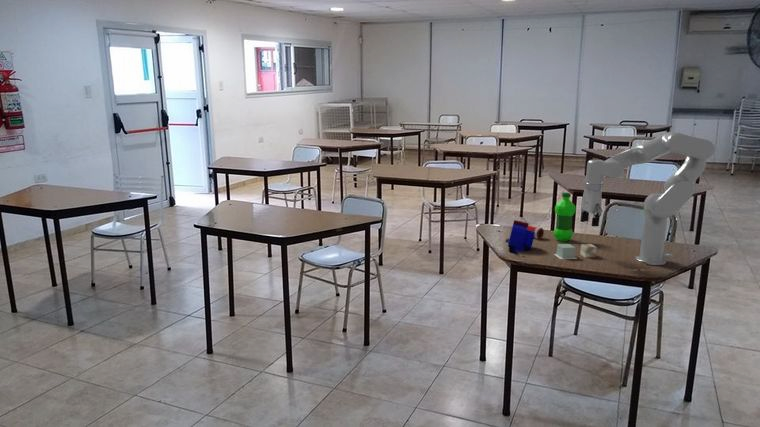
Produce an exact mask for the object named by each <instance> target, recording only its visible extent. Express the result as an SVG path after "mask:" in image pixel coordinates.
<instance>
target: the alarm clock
mask: <svg viewBox="0 0 760 427" xmlns="http://www.w3.org/2000/svg"><path fill="white" fill-rule="evenodd" d="M528 226H529V222H524V221H521V220H520V221H519V220H516V219H513V224H512V227H511V231H510V235H509V238H508V239H509V242H507V244H508V245H507V247H508V253H509V252H510V253H509V254H518V252H519V251H520V252H529V250H531V249H532V246H533V242H534V238H535V237H534V235H535V232H534V231H530V230H527V227H528Z"/></svg>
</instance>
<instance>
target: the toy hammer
mask: <svg viewBox="0 0 760 427" xmlns="http://www.w3.org/2000/svg"><path fill="white" fill-rule="evenodd" d="M527 230H530V231H534V232H535V235H534V238H535V239H536V240H540V239H541V240H542V238H543V237H544V234H545V230H544V228H543V227H539V226H538V227H537V226H532V225H528V227H527ZM509 239H510V238H506V239H505V242H506V243H509Z"/></svg>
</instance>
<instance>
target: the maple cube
mask: <svg viewBox="0 0 760 427" xmlns="http://www.w3.org/2000/svg"><path fill="white" fill-rule="evenodd" d="M579 254H580V256H582V257H584V258H596V256H597V255H596V254H597V246H595V245H594V244H591V243H588V244H587V243H585V244H583V243H582V244H580V252H579Z"/></svg>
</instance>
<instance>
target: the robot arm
mask: <svg viewBox="0 0 760 427" xmlns="http://www.w3.org/2000/svg"><path fill="white" fill-rule="evenodd" d="M715 152H716V146H715V144H714V143H713V141H710V140H709V139H704V138H700V137H696V136H692V135H688V134H685V133H681V132H676V131H667V132H665V133H663V134H661V135H659V136H657V137H655V138H652V139H651V140H649V141H645V142H644V143H641V144H640V145H637V146H635V147H632V148H629V149H626V150H624V151H622V152H619V153H617V154H615V155H612V157H609V158H607V159H606V160H601V159H590V160H588V161H587V164H586V173H585V174H586V176H585V182H584V183H585V184H584V185H585V186H584V191H583V194H582V198H581V199H582V200H581V206H580V208H581V209H582V210H581V222H589V219H590V218H589V216H590V214H591V213H592V219H591V227H599V226H600V220H601V219H600V218H601V216H602V213H603V209H602V200H603V199H602V192H603V186H604V177H606V178H611V179H617V178H620V177H621V176H623V174H624V173H625V169H627V168H629V167H632V166H634V165H635V166H636V165H642V164H644V165H645V164H648V163H651V162H653V161H654V160H657V159H659V158H660V157H663V156H666V155H667V154H669V153H674V154H678V155H681V156H684V157H685V160H684V162H683V163H682V165H680V167H679V168H678V169H677V170H676V171H675V172H674V173H673V174H672V175H671V176H670V177H669V178H668V179H667V180H665V182H664V183H663V189H664V190H663V191H664V193H659V192H655V193H651V194H649V195H648V196H647V197H646V198H645V199H644V201H643V202H644V203H643V224H642V232H641V241H640V249H639V250H640V251H639V255H636V256H635V260H637V261H638V262H641V263H642V264H645V265H650V266H662V265H665V264H666V263H667V259H671V258H674V255H673V253H667V252H664V250H665V242H666V231H667V223H668V219H669V218H670V217H672V216H673V215H675V214H676V213H677V212H678V211H679V210H680V209H681V208H683V206H684V205H686V204H687V203H688V202H689V201H690V200H691V198H692V197H693V195H694V193H695V185H694V183H695V182H696V181H697V180H698V178H700V176H702V174H703V173H704V171H705V169H706V167H707V162H708V161H707V160H709V159H710V158H712V157H713V155H714V154H715Z"/></svg>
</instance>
